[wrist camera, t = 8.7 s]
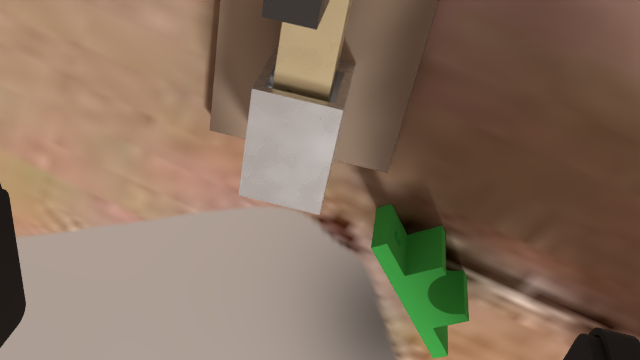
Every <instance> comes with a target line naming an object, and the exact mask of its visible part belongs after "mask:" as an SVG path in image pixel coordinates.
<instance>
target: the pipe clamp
mask: <svg viewBox="0 0 640 360" xmlns="http://www.w3.org/2000/svg"><path fill="white" fill-rule="evenodd" d="M371 249H372V250H373V252H374V254H375V256H376V258H377V259H378V261H379V263H380V265H381V267H382V268H383V270H384V272H385V274H386V275H387V277H388V279H389V281H390V283H391V284H392V286H393V288H394V290H395V291H396V293H397V295H398V297H399V299H400V300H401V302H402V304H403V306H404V307H405V309H406V311H407V313H408V315H409V316H410V318H411V320H412V322H413V323H414V325H415V327H416V329H417V331H418V332H419V334H420V336H421V338H422V339H423V341H424V343H425V345H426V347H427V348H428V350H429V352H430V354H431V355H432V357H433V358H438V357H444V356H448V332H447V325H451V324H456V323H461V322H466V321H469V313H468V293H467V277H466V275H465V273H464V271H463V270H462V271H449V270H446V233H445V231H444V229H443V227H442V226H438V227H434V228H431V229H427V230H423V231H420V232H416V233H413V234H409V235H407V233H406V231H405V229H404V227H403V225H402V223H401V221H400V220H399V218H398V216H397V214H396V212H395V210H394V208H393V206H392V204H389V205H385V206H382V207H379V208H377V210H376V217H375V224H374V231H373V238H372V245H371Z"/></svg>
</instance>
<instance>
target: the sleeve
mask: <svg viewBox="0 0 640 360" xmlns="http://www.w3.org/2000/svg"><path fill="white" fill-rule="evenodd" d="M278 47H279V45H276V47H275V49H274V51H273V52H272V54H271V56H270V58H269V59H268V61H267V63H266V65H265V67H264V68H263V70H262V72H261V74H260V75H259V77H258V79H257V81H256V82H255V84H254V86H253V88H252V92H251V100H250V108H249V116H248V124H247V132H246V140H245V148H244V156H243V164H242V172H241V180H240V188H239V195H240V196H244V197H248V198H252V199H256V200H260V201H264V202H268V203H273V204H277V205H281V206H285V207H289V208H293V209H297V210H301V211H305V212H310V213H314V214H318V215H319V214H320V210H321V206H322V203H323V199H324V195H325V191H326V187H327V184H328V180H329V176H330V172H331V168H332V165H333V161H334V157H335V152H336V148H337V144H338V139H339V135H340V131H341V126H342V122H343V118H344V113H345V109H346V105H347V100H348V96H349V92H350V87H351V83H352V79H353V74H354V70H355V66H356V63H352V62H348V61H344V60H339V65H338V70H337V74H336V79H335V84H334V88H333V93H332V97H331V101H330V102H326V101H322V100H318V99H314V98H309V97H305V96H301V95H297V94H293V93H288V92H284V91H280V90H276V89H272V88H273V81H274V74H275V67H276V61H277V54H278Z"/></svg>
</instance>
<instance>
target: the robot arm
mask: <svg viewBox="0 0 640 360" xmlns="http://www.w3.org/2000/svg"><path fill="white" fill-rule="evenodd" d="M25 307H26V302H25V295H24V289H23V282H22V276H21V269H20V263H19V256H18V250H17V243H16V237H15V230H14V224H13V218H12V211H11V205H10V198H9V194H8V192H7V191H6V190H4V189H2V187H1V184H0V347H1V346H2V345H3V344H4V342H5V341H6V340H7V338H8V337H9V336H10V335H11V333H12V332H13V331H14V330H15V328H16V327H17V326H18V324H19V323H20V321H21V319H22V317H23V315H24V312H25ZM563 360H640V342H639V340H638V339H637V338H636V337H634V336H630V335H626V334H622V333H618V332H614V331H610V330H606V329H602V328H595V329H593V330H592V331H591V332H590V333H589V335H587V334H580V335H579V336H578V337H577V338H576V340H575V341H574V343H573V344H572V346H571V348H570V349H569V351H568V353H567V354H566V356H565V358H564V359H563Z"/></svg>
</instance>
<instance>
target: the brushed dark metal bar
mask: <svg viewBox="0 0 640 360" xmlns="http://www.w3.org/2000/svg"><path fill="white" fill-rule="evenodd" d="M351 4H352V0H263V8H262V16H261V17H264V18H268V19H272V20H277V21H281V22H282V27H281V33H280V40H279V47H278V54H277V61H276V67H275V74H274V81H273V88H272V89H276V90H280V91H284V92H288V93H293V94H297V95H301V96H305V97H309V98H314V99H318V100H322V101H326V102H330V101H331V97H332V93H333V88H334V84H335V79H336V74H337V70H338V65H339V60H340V55H341V51H342V46H343V41H344V37H345V32H346V27H347V23H348V18H349V13H350V9H351Z"/></svg>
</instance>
